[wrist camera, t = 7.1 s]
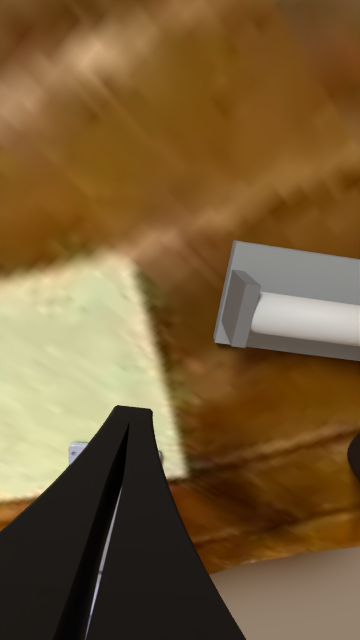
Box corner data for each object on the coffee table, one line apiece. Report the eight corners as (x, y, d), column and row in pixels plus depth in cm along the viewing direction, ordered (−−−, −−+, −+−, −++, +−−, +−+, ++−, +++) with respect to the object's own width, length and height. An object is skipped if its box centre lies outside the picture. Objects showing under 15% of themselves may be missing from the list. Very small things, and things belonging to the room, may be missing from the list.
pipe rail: (414, 362, 21) (478, 403, 17) (213, 336, 20) (223, 372, 16) (461, 274, 19) (552, 294, 14) (233, 240, 18) (252, 250, 13)
